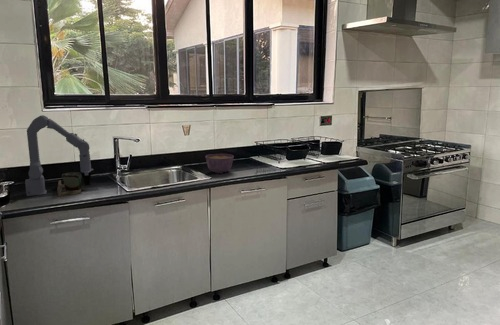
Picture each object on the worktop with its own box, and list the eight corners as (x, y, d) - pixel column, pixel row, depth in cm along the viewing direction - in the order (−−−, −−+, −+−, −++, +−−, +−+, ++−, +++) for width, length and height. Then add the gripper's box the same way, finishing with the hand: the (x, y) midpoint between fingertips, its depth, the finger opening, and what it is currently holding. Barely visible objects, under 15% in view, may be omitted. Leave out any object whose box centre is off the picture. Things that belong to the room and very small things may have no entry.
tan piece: (58, 197, 204) (57, 190, 203) (59, 186, 225) (58, 180, 224) (81, 194, 209) (80, 187, 208) (80, 184, 230) (80, 178, 229)
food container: (88, 189, 219) (86, 172, 217) (81, 192, 214) (79, 175, 211) (71, 187, 223) (69, 171, 220) (63, 190, 217) (61, 174, 215)
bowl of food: (200, 174, 258) (200, 157, 255) (212, 168, 276) (212, 153, 274) (227, 176, 251) (227, 159, 249) (238, 170, 270) (237, 154, 268)
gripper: (93, 164, 213) (95, 186, 216) (92, 159, 226) (94, 181, 228) (79, 165, 210) (82, 188, 213) (79, 160, 223) (81, 182, 226)
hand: (87, 184), depth 220 cm, fingers closed
